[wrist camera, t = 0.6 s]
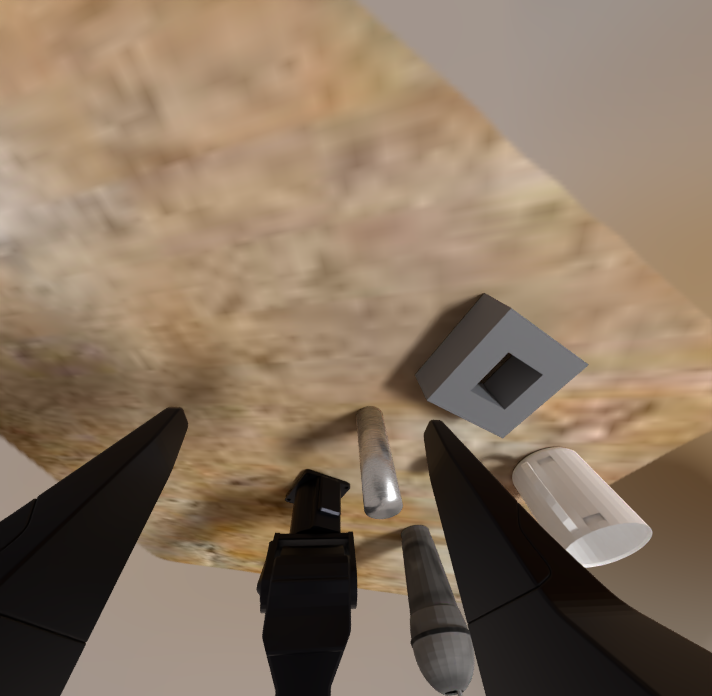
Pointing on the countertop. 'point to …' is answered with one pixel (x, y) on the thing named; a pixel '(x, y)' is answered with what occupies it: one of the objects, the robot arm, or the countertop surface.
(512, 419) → the hole block
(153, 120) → the countertop surface
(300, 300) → the countertop surface
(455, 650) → the beverage cup
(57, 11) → the countertop surface
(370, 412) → the long pin
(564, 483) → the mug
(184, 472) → the countertop surface
